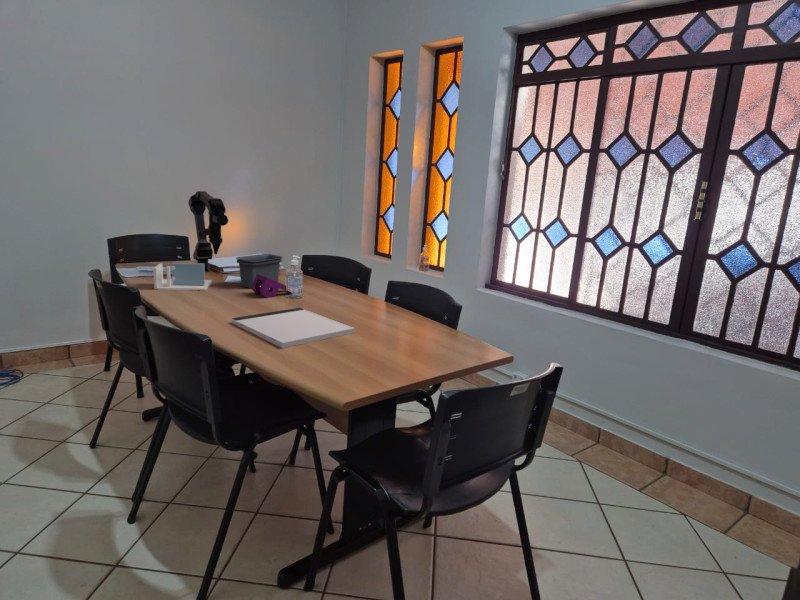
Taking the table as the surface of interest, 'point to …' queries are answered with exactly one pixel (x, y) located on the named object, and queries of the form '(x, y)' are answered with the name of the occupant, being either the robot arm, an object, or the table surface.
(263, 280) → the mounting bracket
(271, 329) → the white flat slab
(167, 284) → the cabinet base
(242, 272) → the storage bin
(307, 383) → the table surface
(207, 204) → the robot arm
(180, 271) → the door panel
